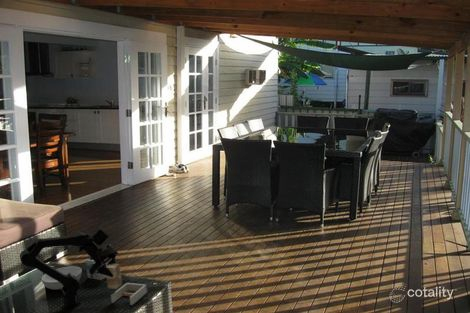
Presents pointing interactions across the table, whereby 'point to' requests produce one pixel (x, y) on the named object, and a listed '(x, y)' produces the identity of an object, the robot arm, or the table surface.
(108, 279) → the maple block
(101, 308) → the table surface
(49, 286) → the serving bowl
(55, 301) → the table surface
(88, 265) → the light bulb box
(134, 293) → the trap trough
